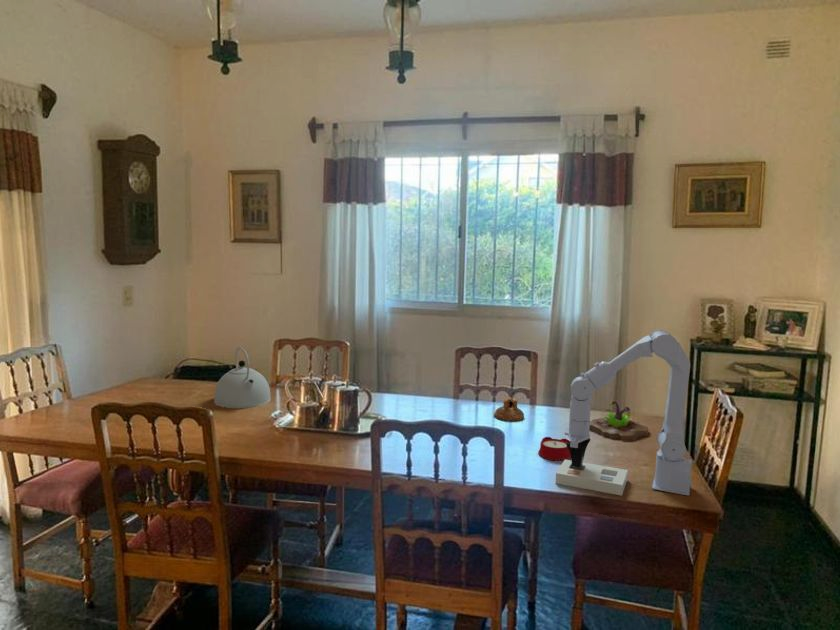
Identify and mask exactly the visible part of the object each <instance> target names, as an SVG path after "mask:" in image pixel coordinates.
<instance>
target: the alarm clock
mask: <svg viewBox="0 0 840 630" xmlns="http://www.w3.org/2000/svg"><path fill="white" fill-rule="evenodd" d="M567 441H570V439H567V438H561V439H558V438H553V437H550V436H544V437H543V438H542V439H541V441H540V443H539V444H540V448H539V449H538V452H537V453H538V455H539V456H540V457H542V458H543V459H547V460H550V461H551V460H552V461H551V462H556V461H564V460H571V456H570V452H569V449H568V447H567V445H566V443H567Z"/></svg>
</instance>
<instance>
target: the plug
mask: <svg viewBox="0 0 840 630" xmlns="http://www.w3.org/2000/svg"><path fill="white" fill-rule="evenodd" d="M583 463H584V459H583V456H582V461H581V465H580V467H575V466H572V469H576V470H582V467H583Z"/></svg>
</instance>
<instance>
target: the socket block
mask: <svg viewBox="0 0 840 630" xmlns="http://www.w3.org/2000/svg"><path fill="white" fill-rule="evenodd" d="M628 472H629V470H628V469H625V468H624V469H623V468H618V467H612V466H606V465H600V464H594V463H590V462H589V463H587V462H583V467H582V470H576V469H572V462H571V459H567V460H563V461H562V463H561V464H560V466H559V467H558V469H557V471H556V472H555V484H558V485H562V486H563V485H564V486H567V487H569V486H570V487H572V488H573V487H574V488H579V489H583V490H584V489H585V490H590V491H595V492H599V493H600V492H601V493H605V494H612V495H617V496H623V494H624V491H625V488H626V485H627V482H628Z"/></svg>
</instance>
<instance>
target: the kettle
mask: <svg viewBox="0 0 840 630" xmlns="http://www.w3.org/2000/svg"><path fill="white" fill-rule="evenodd" d="M239 350H241V351H242V352H243V353H244V356H245V359H246V362H245V360H239V362H238V355H239ZM234 356H235V358H234V359H235V361H234V362H235V368H232V369H231V370H228V372H227V373H224V375H222V376H221V377H220V379H219V380H218V381H217V384H216V385H215V389H214V393H213V394H214V395H213V404H214V403H215V404H216V405H215V404H214V405H215V406H217V405H218V406H217V407H219V406H221V407H220V408H224V407H226V408H225V409H248V408H249V409H250V408H255V407H260V406H263V405H266V404H268V403H270V401H271V399H272V398H271V389H270V385H269V383H268V381H267V379H266V378H265V376H264V375H263V374H261V373H260V372H258V371H257V370H255V369H254V368H251V367H250V361H249V360H250V359H249V355H248V353H247V351H246V350H245V349H244V348H243V347H241V346H239V347H237V349H236V351H235V355H234ZM245 366H246V367H245Z"/></svg>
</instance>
